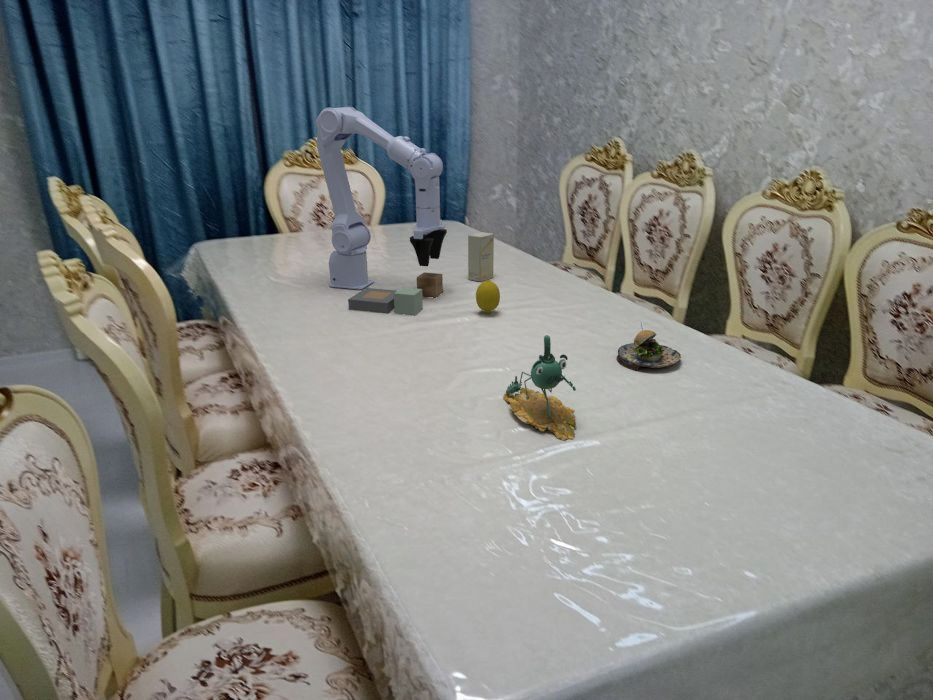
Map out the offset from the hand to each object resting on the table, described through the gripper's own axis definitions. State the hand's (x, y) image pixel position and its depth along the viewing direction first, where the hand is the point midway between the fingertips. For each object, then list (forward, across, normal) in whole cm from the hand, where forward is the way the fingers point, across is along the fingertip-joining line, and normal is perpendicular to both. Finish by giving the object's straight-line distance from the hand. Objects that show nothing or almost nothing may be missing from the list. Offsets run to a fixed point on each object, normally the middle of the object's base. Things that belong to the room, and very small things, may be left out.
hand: (429, 262), depth 164 cm
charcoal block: (+9, -12, +9) cm, 17 cm away
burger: (+9, -28, -55) cm, 62 cm away
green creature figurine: (+9, -56, -40) cm, 69 cm away
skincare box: (+9, +18, -8) cm, 21 cm away
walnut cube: (+8, 0, 0) cm, 8 cm away
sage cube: (+8, -14, 0) cm, 16 cm away
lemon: (+9, -10, -18) cm, 22 cm away
